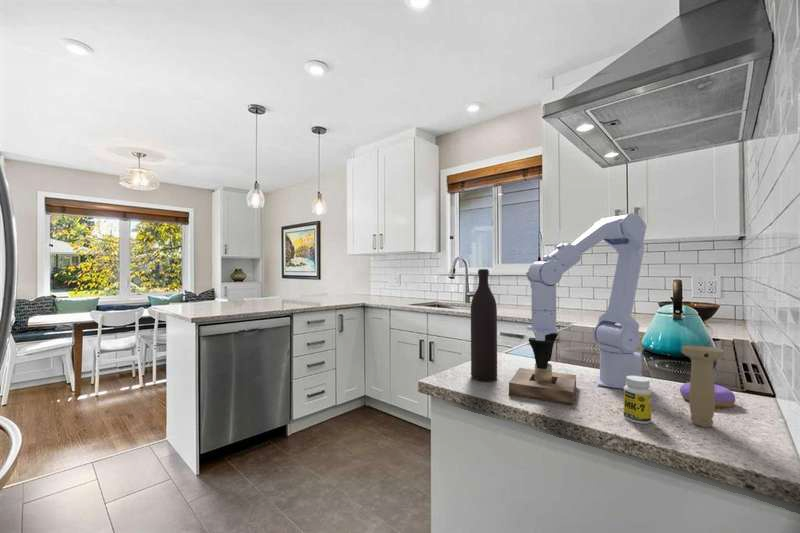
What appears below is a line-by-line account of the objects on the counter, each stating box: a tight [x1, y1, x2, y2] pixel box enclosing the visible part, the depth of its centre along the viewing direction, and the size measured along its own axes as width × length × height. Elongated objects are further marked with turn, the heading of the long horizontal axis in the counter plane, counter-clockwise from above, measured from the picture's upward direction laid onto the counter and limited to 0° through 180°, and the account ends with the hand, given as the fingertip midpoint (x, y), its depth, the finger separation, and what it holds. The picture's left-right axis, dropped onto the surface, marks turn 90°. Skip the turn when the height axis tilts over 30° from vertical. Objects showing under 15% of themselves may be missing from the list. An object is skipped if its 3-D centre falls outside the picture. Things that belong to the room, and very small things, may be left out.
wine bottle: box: [470, 268, 498, 382], centre depth 103 cm, size 7×7×30 cm
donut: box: [679, 381, 736, 408], centre depth 86 cm, size 10×9×5 cm
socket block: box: [508, 367, 577, 406], centre depth 93 cm, size 14×14×3 cm
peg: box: [534, 362, 553, 384], centre depth 93 cm, size 4×4×6 cm
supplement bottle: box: [622, 376, 653, 425], centre depth 76 cm, size 5×5×8 cm
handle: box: [681, 345, 725, 428], centre depth 74 cm, size 5×6×15 cm
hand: (543, 364), depth 93 cm, fingers open, 7 cm apart
